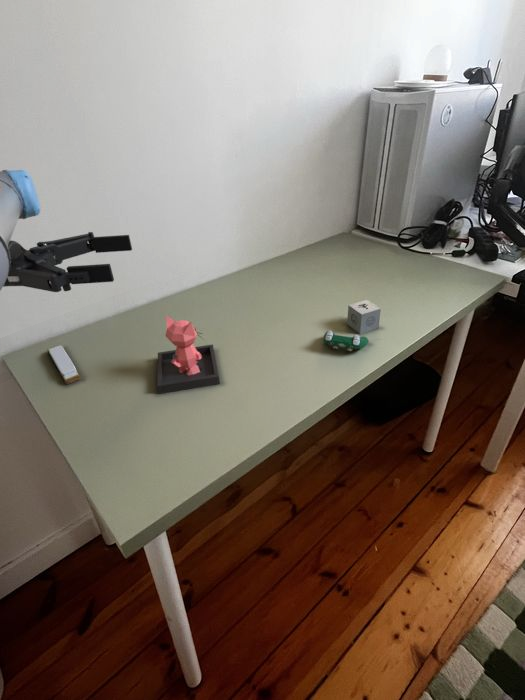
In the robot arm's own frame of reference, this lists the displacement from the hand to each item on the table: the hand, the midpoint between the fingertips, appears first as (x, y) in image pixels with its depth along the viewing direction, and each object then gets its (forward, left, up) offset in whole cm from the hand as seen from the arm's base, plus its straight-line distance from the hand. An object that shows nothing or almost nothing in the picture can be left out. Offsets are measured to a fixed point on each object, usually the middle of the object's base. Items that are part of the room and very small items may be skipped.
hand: (121, 256), depth 73 cm
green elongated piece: (+41, -1, -25) cm, 48 cm away
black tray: (+8, -1, -25) cm, 26 cm away
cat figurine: (+8, -1, -25) cm, 26 cm away
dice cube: (+48, +6, -25) cm, 54 cm away
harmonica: (-18, +8, -25) cm, 32 cm away
